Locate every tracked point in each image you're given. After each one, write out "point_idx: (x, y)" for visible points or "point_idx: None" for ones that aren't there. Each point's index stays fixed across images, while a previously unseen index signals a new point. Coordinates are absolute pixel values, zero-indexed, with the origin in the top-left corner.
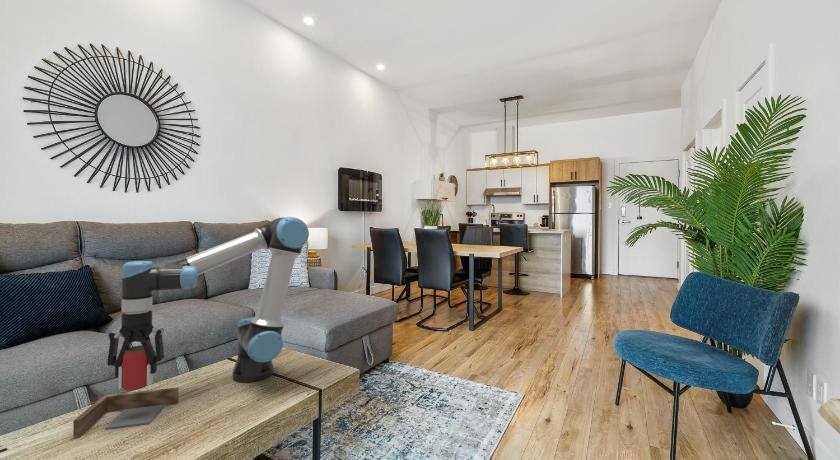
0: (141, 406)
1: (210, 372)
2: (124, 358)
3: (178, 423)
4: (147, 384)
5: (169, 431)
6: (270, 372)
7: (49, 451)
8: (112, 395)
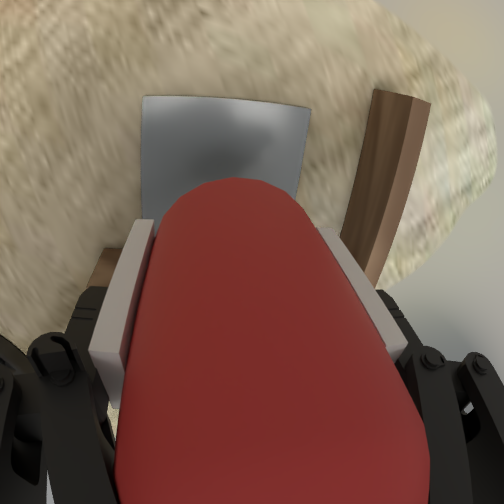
0: None
1: None
2: (419, 428)
3: (41, 78)
4: (147, 224)
5: (58, 22)
6: None
7: (423, 42)
8: None
